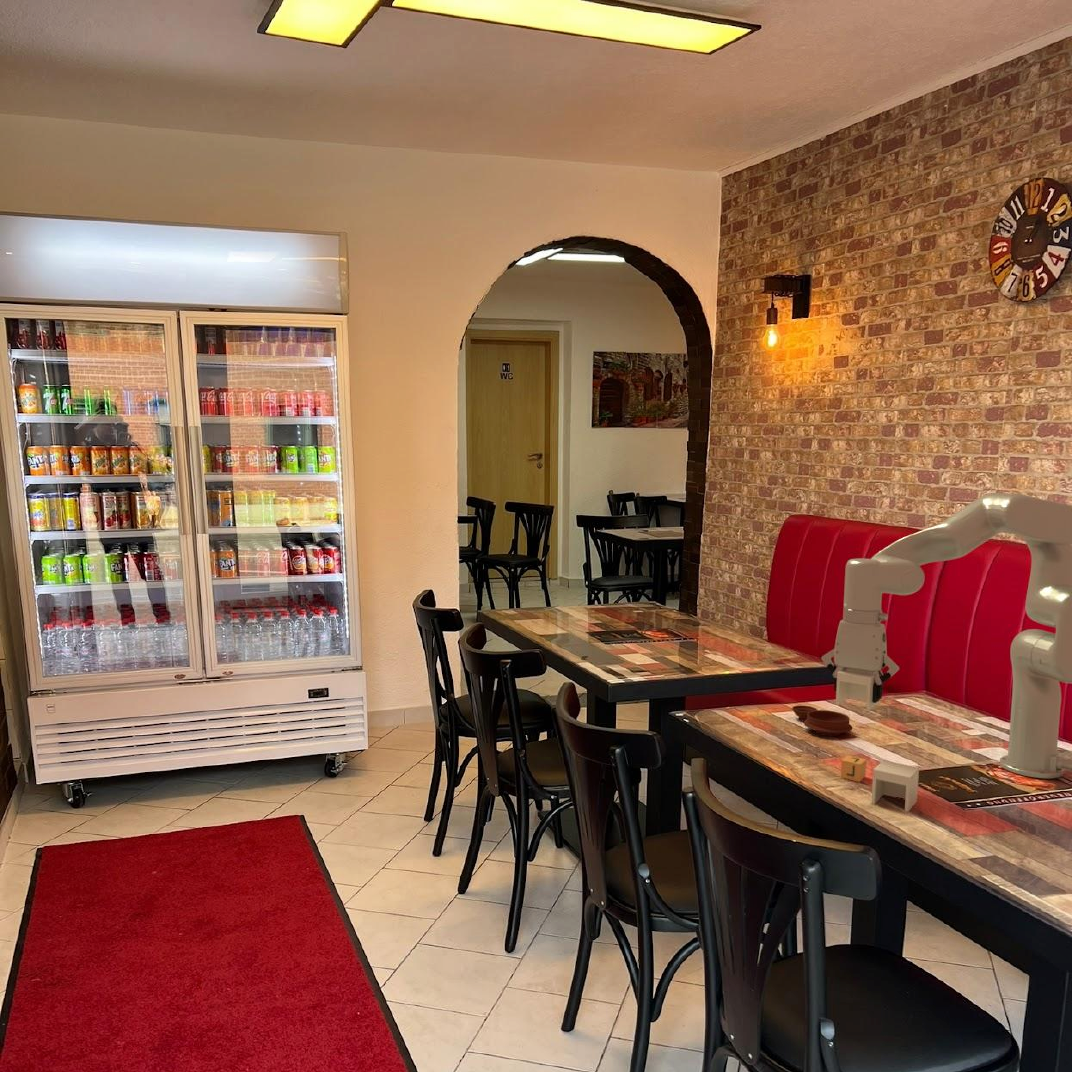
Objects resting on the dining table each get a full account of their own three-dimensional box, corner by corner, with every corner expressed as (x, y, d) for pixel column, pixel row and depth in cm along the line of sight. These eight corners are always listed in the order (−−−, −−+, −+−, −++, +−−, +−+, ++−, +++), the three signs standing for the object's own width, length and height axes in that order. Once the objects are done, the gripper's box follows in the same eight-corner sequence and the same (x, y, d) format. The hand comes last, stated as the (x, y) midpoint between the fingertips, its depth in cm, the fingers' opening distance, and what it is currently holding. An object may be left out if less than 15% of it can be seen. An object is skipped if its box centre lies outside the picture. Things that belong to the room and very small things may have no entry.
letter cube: (865, 777, 195) (866, 759, 195) (859, 782, 192) (860, 764, 191) (846, 773, 197) (847, 755, 197) (840, 778, 194) (841, 760, 194)
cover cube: (878, 703, 194) (880, 671, 193) (869, 710, 188) (870, 677, 187) (846, 697, 198) (847, 666, 197) (835, 704, 192) (837, 672, 192)
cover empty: (917, 801, 182) (919, 767, 181) (907, 812, 176) (910, 777, 175) (881, 792, 186) (883, 760, 185) (871, 803, 180) (873, 769, 179)
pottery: (819, 741, 219) (820, 724, 218) (778, 717, 238) (778, 701, 238) (861, 738, 222) (862, 721, 221) (817, 715, 241) (818, 699, 241)
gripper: (909, 619, 189) (904, 701, 191) (827, 609, 199) (823, 687, 201) (899, 624, 183) (894, 709, 185) (815, 614, 193) (811, 694, 195)
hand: (857, 697), depth 193 cm, fingers closed on cover cube, 7 cm apart
